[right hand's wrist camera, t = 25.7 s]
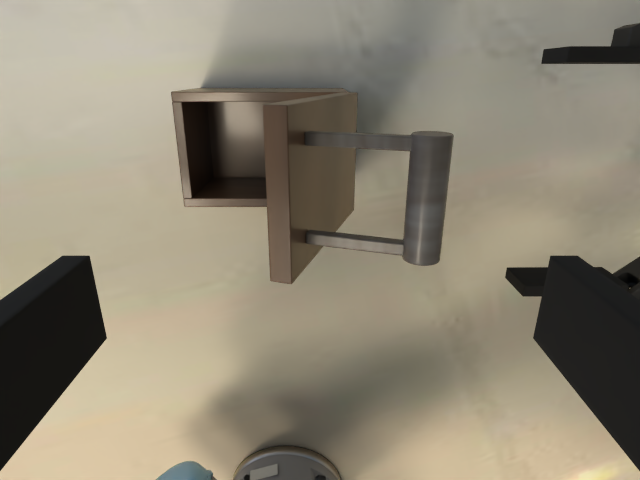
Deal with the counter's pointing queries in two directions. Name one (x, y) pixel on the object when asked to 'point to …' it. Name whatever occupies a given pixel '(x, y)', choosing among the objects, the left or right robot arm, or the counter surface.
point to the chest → (226, 142)
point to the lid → (343, 183)
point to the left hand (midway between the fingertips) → (531, 179)
